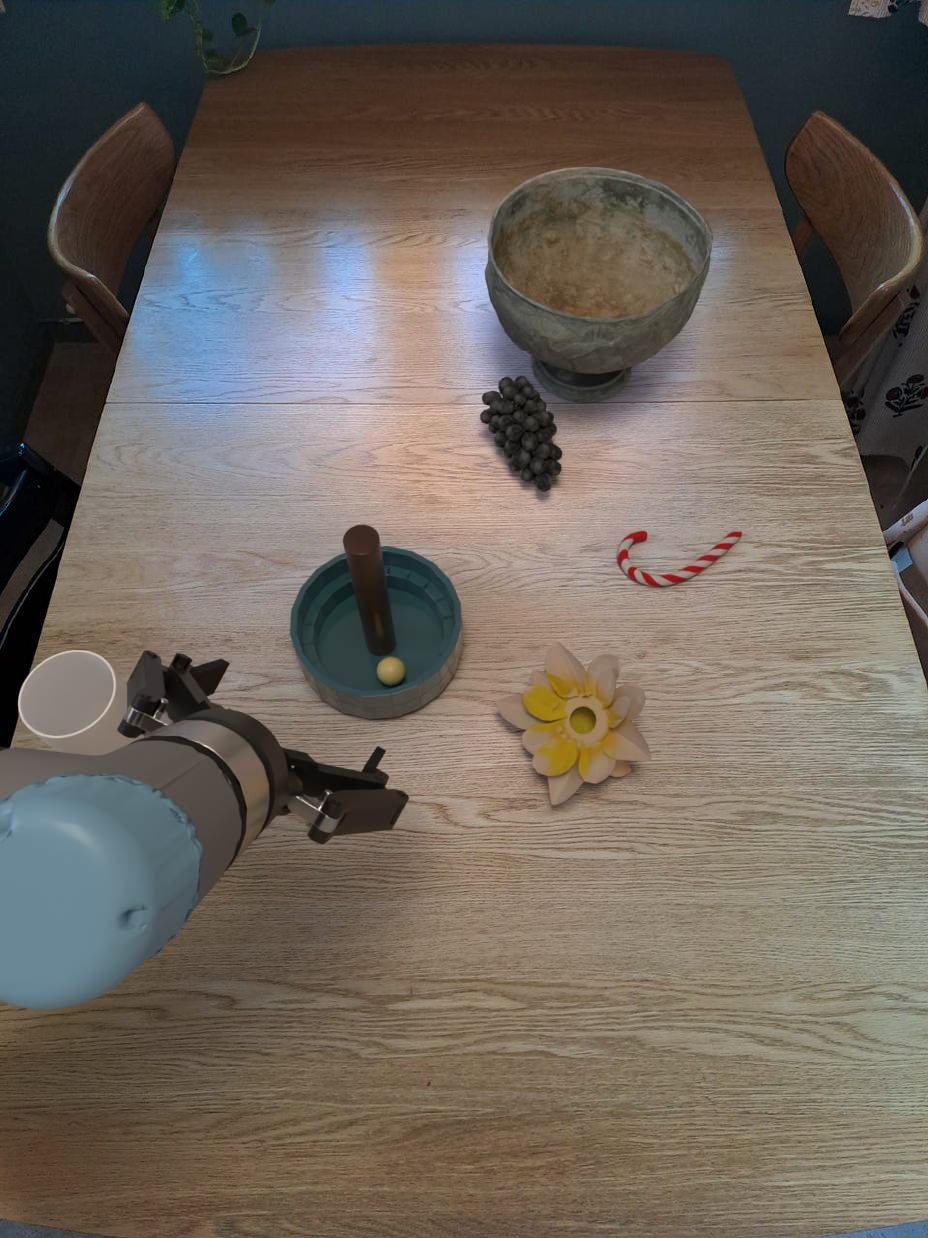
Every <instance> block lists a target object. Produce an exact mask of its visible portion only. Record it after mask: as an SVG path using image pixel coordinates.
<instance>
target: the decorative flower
mask: <svg viewBox="0 0 928 1238" xmlns="http://www.w3.org/2000/svg"><path fill="white" fill-rule="evenodd" d="M544 665H545V671H543V670H540V669H534V668H533V669H532V670H531V673H530V678H529V681H530V685H528V686H527V687H526V688H525V689H524V691H523V692H522V693H518V694H514V695H511V696H507V697H503V698H499V699H497V700H495V707H496V709H497V711H498V714H499V715H500V716H501V717H503V719H504V720H506V721H507V722H508V723H510V724H512V725H513V726H515V727H517V728H518V729H523V730H525V731H524V732H523V733H522V734H521V739H522V740H521V741H522V746H523V747H524V748H525V749H526V751H527V752H528V753H530V754H531V755H533V757H532V761H531V766H532V767H533V768H534V770H535V771H536V772H537V774H540V775H544V776H545V777H546V776H547V781H548V791H549V799H550V803H551V806H557V805H559V804H562V803H564V802H566V801H568V800H569V799H570V798H571V797H572V796H573V795H574V794H575V793H576V792H577V791H578V789H579V788H580V787H581V786H582V784H584V782H585V783H591V784H598V783H601V782H602V781H604V780H606V779H607V778H609V776H611V777H614V778H621V777H624V776H626V775H628V774H629V773H630V772H631V771H632V767H631V765H630V764H629V763H628V761H632V762H633V761H634V762H635V761H636V762H637V761H638V762H645V761H648V762H649V761H651V760H652V753H651V750H650V747H649V743H648V742H647V740H646V739H645V737H644V735H643V734H642V732H640V730H639V729H638V728H637V726H636V725H635V724H634V723H633V722H632V720H634V719H636V718H637V717H639V715H641V713H642V711H643V709H644V707H645V705H646V694H645V689H644V688H643V687H642V686H641V685H639V684H638V683H637V682H628V683H624V684H622V685H620V686H618V687H617V681H618V679H619V677H620V675H621V671H622V667H623V664H622V662H621V660H620V659H619V656H617V655H614V654H612V653H603V654H601V655H599V656H597V657H595V658H594V659H592V660H591V661H590V663H589V664H588V666H587V668H585V667H584V665H583V663H582V661H580V660H579V659H578V658H577V657H576V656H575V655H573V653H572V652H571V651H570V650H569V649H567V648H566V647H565V646H564V645H563V644H562V643H560V642H559V641H558V640H556V641H555V642H553V643H552V644H551V646H550V647H549V648H548V650H547V651H546V655H545V661H544Z"/></svg>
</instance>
